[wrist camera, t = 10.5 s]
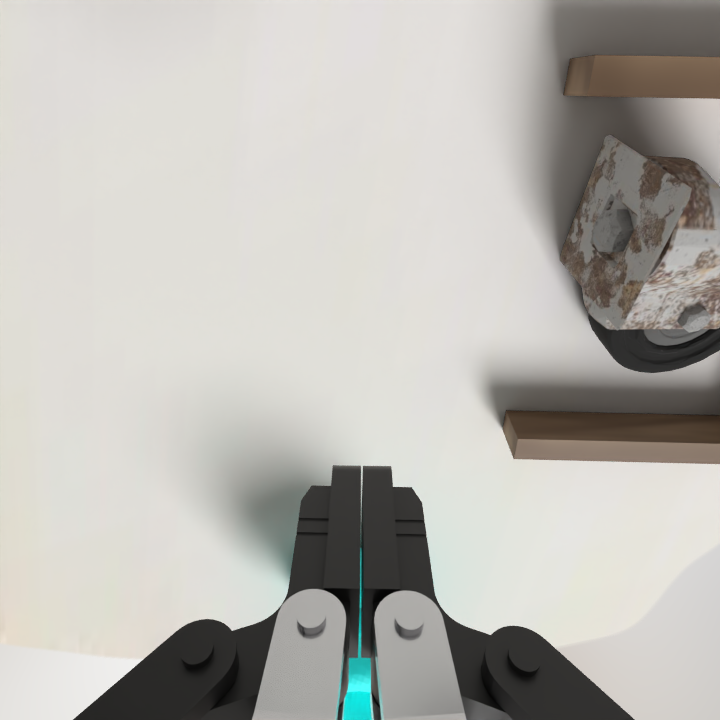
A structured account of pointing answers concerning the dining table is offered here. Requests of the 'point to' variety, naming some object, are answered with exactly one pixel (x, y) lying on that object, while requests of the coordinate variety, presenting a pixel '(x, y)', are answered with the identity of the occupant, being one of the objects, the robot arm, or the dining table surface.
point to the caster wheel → (648, 258)
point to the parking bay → (625, 430)
